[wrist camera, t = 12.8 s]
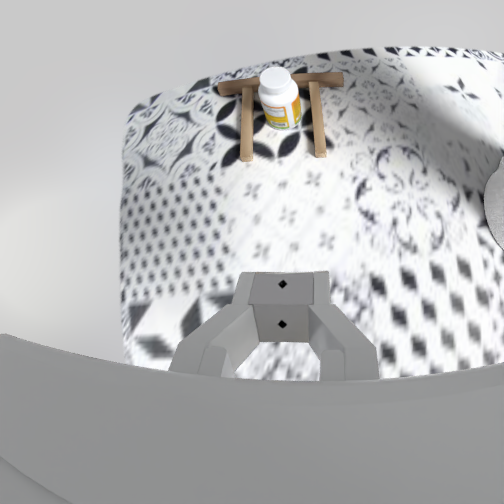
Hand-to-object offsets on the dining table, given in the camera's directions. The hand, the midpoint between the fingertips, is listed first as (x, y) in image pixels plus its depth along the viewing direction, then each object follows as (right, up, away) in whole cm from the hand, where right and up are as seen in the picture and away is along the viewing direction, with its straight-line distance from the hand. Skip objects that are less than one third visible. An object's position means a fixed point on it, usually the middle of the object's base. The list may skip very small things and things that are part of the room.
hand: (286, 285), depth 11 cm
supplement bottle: (+4, +22, +33) cm, 40 cm away
